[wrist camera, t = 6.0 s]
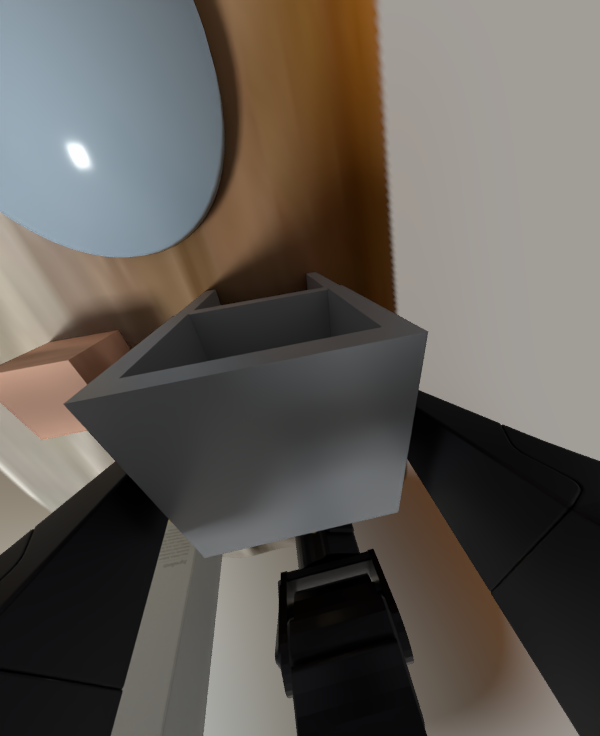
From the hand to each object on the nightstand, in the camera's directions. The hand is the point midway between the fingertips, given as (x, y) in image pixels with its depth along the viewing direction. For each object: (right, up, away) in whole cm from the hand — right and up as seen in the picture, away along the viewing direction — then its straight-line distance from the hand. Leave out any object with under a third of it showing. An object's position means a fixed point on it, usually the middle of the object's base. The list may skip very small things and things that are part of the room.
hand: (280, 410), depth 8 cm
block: (-12, +2, +6) cm, 13 cm away
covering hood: (0, +1, +2) cm, 3 cm away
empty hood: (-1, +4, +7) cm, 8 cm away
